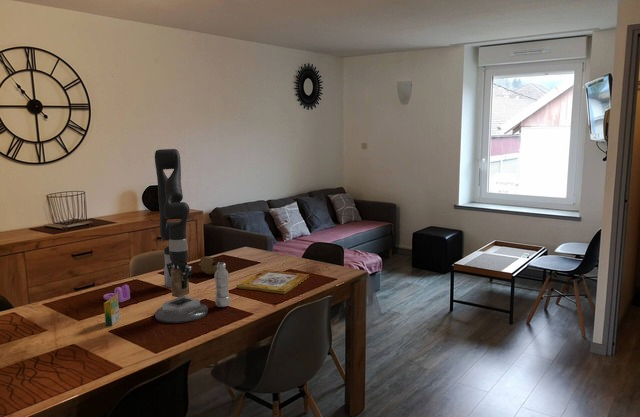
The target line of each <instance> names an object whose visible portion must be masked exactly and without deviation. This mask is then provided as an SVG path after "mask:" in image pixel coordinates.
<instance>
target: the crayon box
mask: <svg viewBox="0 0 640 417" xmlns="http://www.w3.org/2000/svg"><path fill="white" fill-rule="evenodd" d="M114 297H116V298H114ZM103 310H104V321H105V323H104V324H105V326H106V327H113V326H114V325H115V324H116V323H118V322H119V321H120V320H121V318H120V315H121V314H120V306H119V302H118V293H117V294H116V295H115V296H113V297H112V298H110V299H109V300H106V301H105V302H103Z"/></svg>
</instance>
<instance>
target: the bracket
mask: <svg viewBox="0 0 640 417" xmlns="http://www.w3.org/2000/svg"><path fill="white" fill-rule="evenodd" d="M117 293H118V303H123V302H126V301H128V300H130V299H131V290H130V286H129V285H128V284H123V285H122V286H117V287H114V293H113V292H111V293H105V294H103V299H104V300H106V301H108V300H109V299H110V298H112V297H113V296H115V295H116V294H117ZM114 298H116V297H114Z"/></svg>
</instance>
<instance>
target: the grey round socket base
mask: <svg viewBox="0 0 640 417" xmlns="http://www.w3.org/2000/svg"><path fill="white" fill-rule="evenodd" d="M208 312H209V309H208V306H207V305H206V304H204V303H202V302H201V299H199V298H194V297H191V296H190V297H189V296H187V295H185V296H182V297H179V298H178V297H175V298H174V299H172V300H169V301H166V302H163V303H162V306H161V307H159V308H158V309H157V310H155V312H154V315H155V318H154V319H156V320H157V321H158V322H161V323H165V324H185V323H191V322H194V321H198V320H200V319H202V318H204V317H206V315H208Z"/></svg>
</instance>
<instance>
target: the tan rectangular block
mask: <svg viewBox="0 0 640 417" xmlns="http://www.w3.org/2000/svg"><path fill="white" fill-rule="evenodd" d="M182 273H185V271H184V272H182ZM183 276H184V275H183ZM181 281H182V280H181V276H180V269H177V268H175V269H174V268H172V269H171V284H172V288H171V295H172V296H171V297H175V298H179V297H182V296H187V295H189V294H190V284H189V282H190V281H189V279H187V288H186V289H182V283H181Z"/></svg>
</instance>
